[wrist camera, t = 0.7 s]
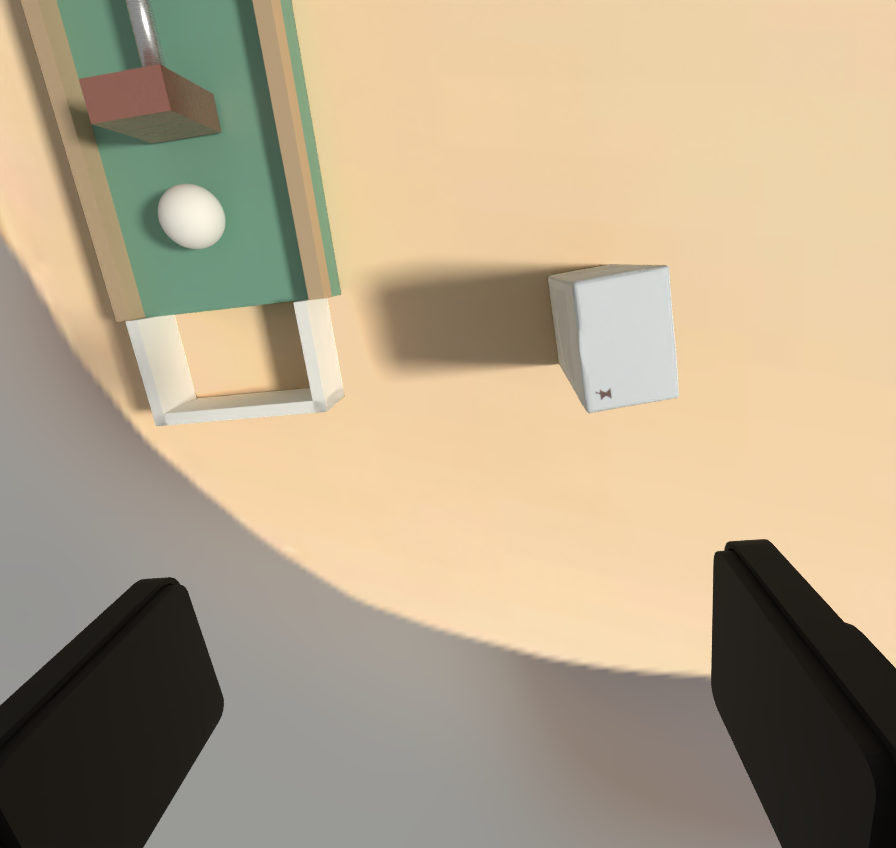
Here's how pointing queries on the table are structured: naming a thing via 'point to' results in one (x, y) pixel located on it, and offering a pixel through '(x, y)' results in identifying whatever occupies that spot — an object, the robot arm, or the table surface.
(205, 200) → the ball
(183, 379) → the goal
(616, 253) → the table surface
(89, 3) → the pitch board
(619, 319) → the skincare box
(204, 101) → the kicker rod
